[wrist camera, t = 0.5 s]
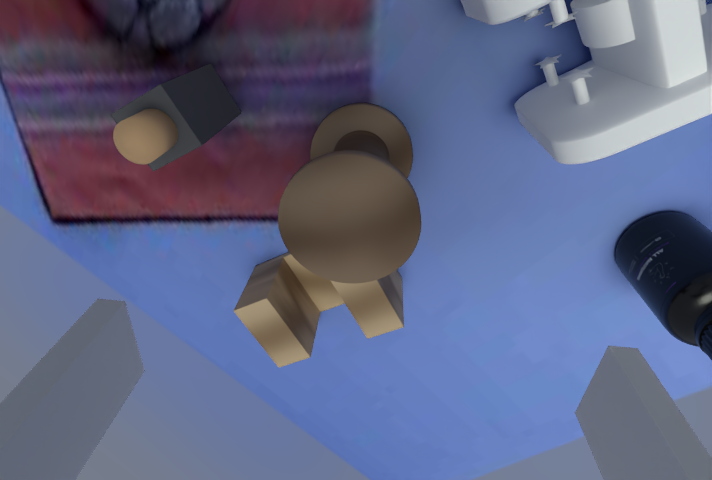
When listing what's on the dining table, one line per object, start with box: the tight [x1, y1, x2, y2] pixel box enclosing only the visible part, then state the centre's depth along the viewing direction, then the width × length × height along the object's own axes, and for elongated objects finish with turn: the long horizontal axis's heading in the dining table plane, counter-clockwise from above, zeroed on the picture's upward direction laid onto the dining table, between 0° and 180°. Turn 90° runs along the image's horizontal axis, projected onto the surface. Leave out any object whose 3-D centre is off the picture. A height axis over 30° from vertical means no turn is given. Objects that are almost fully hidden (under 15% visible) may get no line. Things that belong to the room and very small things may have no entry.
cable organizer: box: [461, 0, 712, 164], centre depth 23 cm, size 15×11×12 cm
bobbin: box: [278, 103, 421, 284], centre depth 29 cm, size 8×8×12 cm
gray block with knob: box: [111, 64, 241, 171], centre depth 28 cm, size 4×4×10 cm
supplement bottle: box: [615, 212, 712, 360], centre depth 31 cm, size 7×7×12 cm
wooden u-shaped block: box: [234, 252, 404, 367], centre depth 37 cm, size 7×12×7 cm, turn 117°
